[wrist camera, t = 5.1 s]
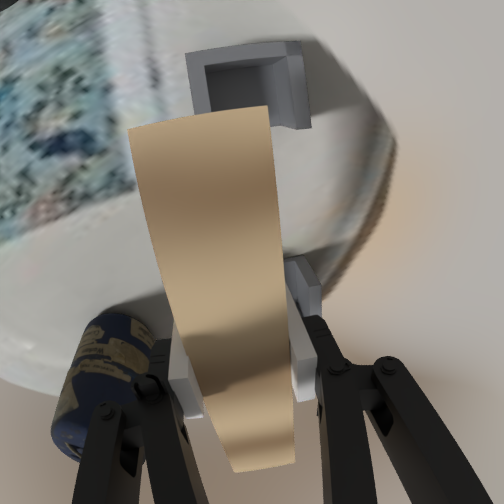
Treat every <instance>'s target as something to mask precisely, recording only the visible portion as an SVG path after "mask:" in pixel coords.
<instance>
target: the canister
mask: <svg viewBox="0 0 504 504" xmlns="http://www.w3.org/2000/svg"><path fill="white" fill-rule="evenodd" d="M154 343H155V340H154V338H153V336H152V334H151V333H150V331H149V330H148V329H147V328H146V326H145V325H143V324H142V323H140V322H139V321H137V320H135V319H133V318H131V317H129V316H126V315H122V314H104V315H100V316H98V317H96V318H94V319H93V320H92V321H90V323H89V324H88V325H87V327H86V329H85V331H84V333H83V335H82V338H81V341H80V343H79V346H78V348H77V351H76V354H75V356H74V359H73V362H72V365H71V367H70V369H69V371H68V373H67V376H66V379H65V382H64V385H63V388H62V391H61V394H60V398H59V401H58V404H57V407H56V411H55V415H54V418H53V422H52V426H51V436H52V439H53V442H54V443H55V445H56V446H57V447H58V448H59V449H60V450H61V451H62V452H63V453H64V454H65V455H67V456H68V457H70V458H71V459H73V460H75V461H77V462H79V463H80V460H81V456H82V452H83V448H84V444H85V440H86V436H87V432H88V428H89V424H90V421H91V417H92V413H93V411H94V409H95V407H96V406H97V405H98V404H99V403H102V402H104V401H109V400H111V401H115V402H117V403H118V404H119V405H120V406H121V405H124V404H127V403H130V402H132V401H135V400H136V399H137V398H136V396H135V395H134V393H133V391H132V390H131V383H132V381H133V380H134V378H136V377H137V376H138V375H140V374H142V373H145V372H148V366H149V360H150V354H151V348H152V346H153V345H154ZM145 460H146V456H145V450H144V454H143V463H142V465H143V464H144V462H145Z"/></svg>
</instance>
